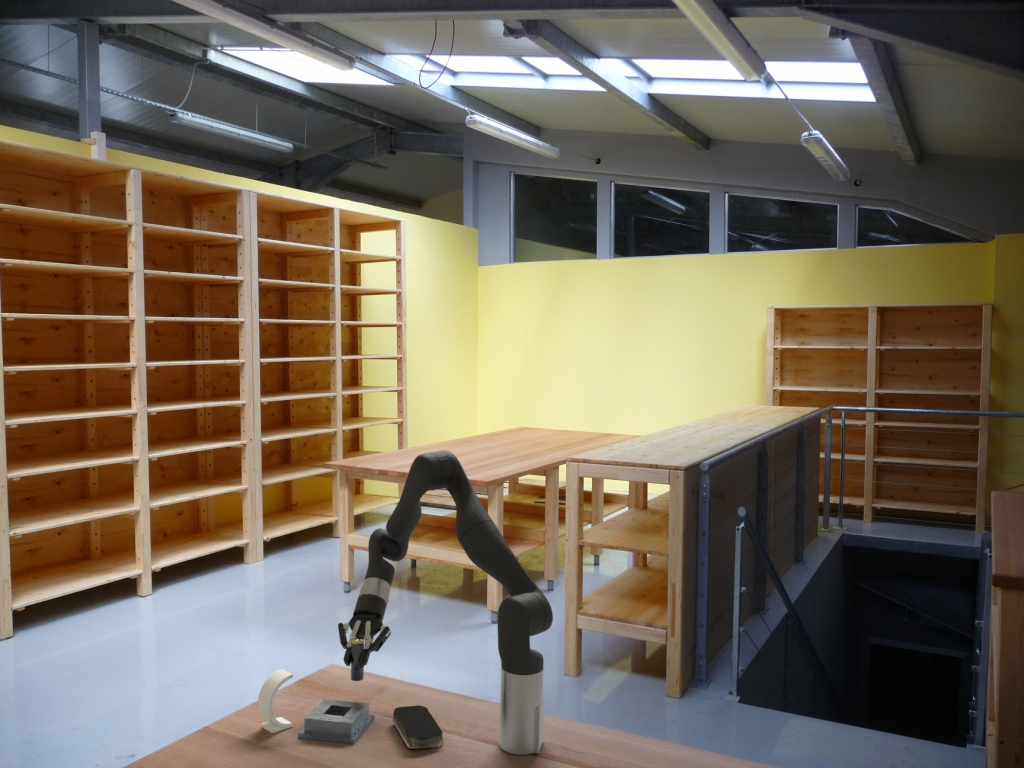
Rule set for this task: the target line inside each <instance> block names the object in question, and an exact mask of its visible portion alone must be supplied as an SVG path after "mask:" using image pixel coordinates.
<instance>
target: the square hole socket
mask: <svg viewBox="0 0 1024 768" xmlns="http://www.w3.org/2000/svg"><path fill="white" fill-rule="evenodd" d="M375 715H376V714H371V713H370V702H369V703H368V702H362V701H361V702H360V701H359V702H358V701H350V700H342V699H341V700H340V699H332V698H331V699H330V698H324V699H323V700H322V701H321V702H319V703H318V704H317V705H316V707H314V708H313V710H311V711H310V712H309V713H308V714H307V715H306V716H305V717H304V722H303V724H304V726H303V728H302V729H300V731H298V733H297V738H299V739H307V740H308V739H309V740H316V741H317V740H318V741H325V742H332V743H333V742H334V743H343V744H350V745H351V744H352V745H353V744H355V743H356V742H357V741H358V740H359V738H360V737H361V736H363V733H364V732H365V731H366V730H367V729H368V727H370V725H371V724H372V723H373V721H374V720H375V718H376V717H375Z"/></svg>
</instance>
